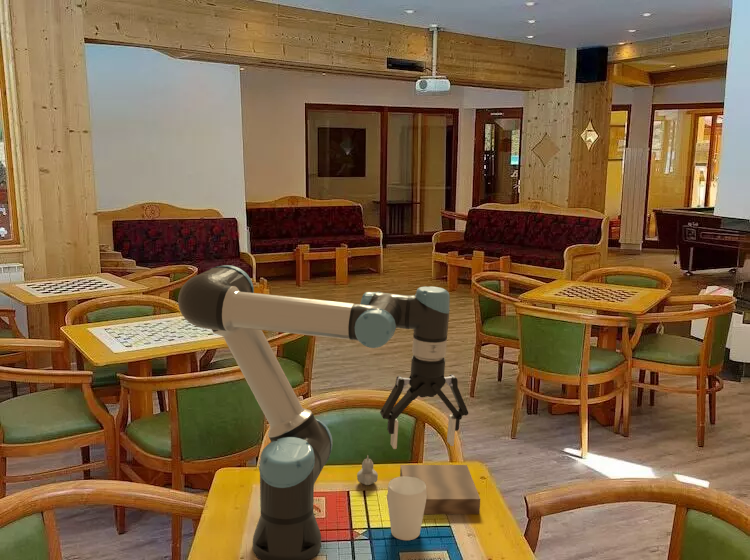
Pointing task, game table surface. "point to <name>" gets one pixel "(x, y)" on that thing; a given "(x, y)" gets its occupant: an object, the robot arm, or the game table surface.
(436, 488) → the walnut base
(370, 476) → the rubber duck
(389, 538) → the game table surface
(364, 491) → the game table surface
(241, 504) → the game table surface
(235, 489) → the game table surface
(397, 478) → the cup
